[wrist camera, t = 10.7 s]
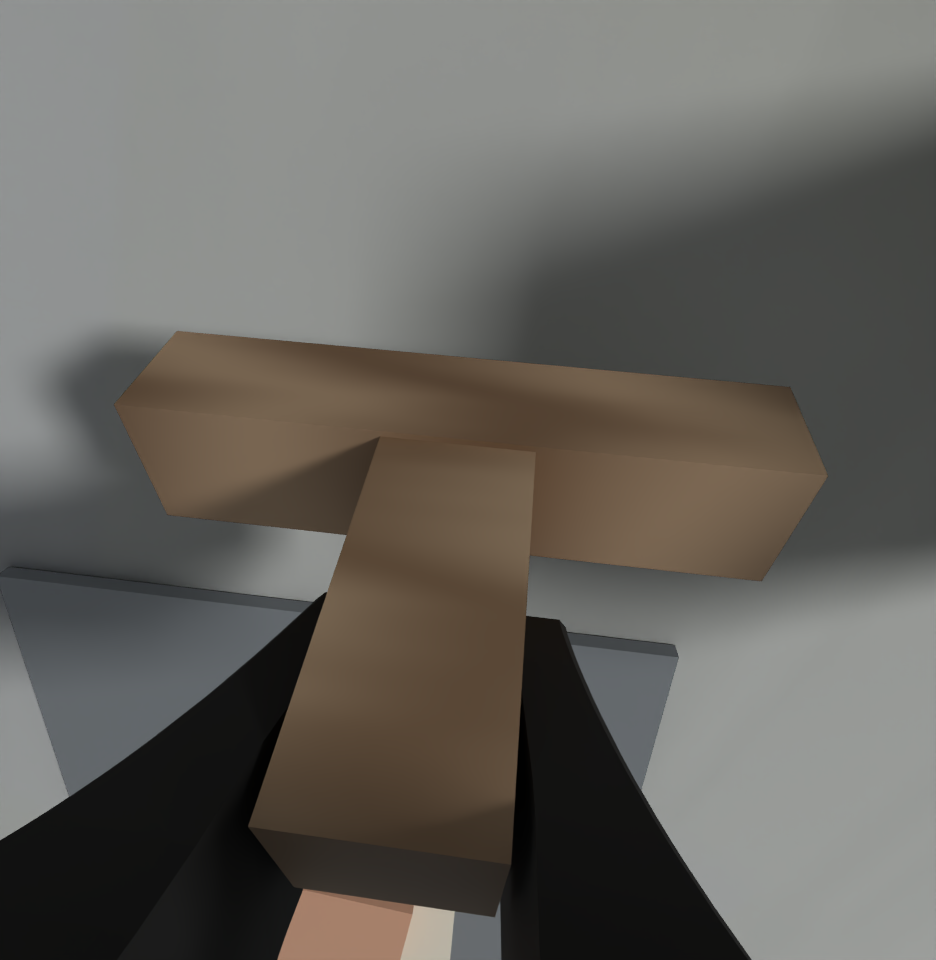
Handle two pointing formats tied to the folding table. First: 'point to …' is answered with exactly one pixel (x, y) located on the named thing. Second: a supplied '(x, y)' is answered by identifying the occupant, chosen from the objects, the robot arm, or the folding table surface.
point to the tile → (346, 928)
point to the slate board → (216, 656)
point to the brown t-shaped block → (447, 562)
